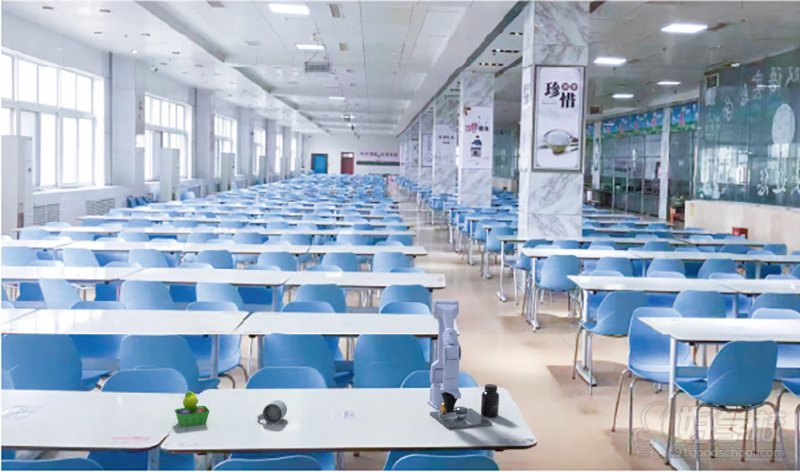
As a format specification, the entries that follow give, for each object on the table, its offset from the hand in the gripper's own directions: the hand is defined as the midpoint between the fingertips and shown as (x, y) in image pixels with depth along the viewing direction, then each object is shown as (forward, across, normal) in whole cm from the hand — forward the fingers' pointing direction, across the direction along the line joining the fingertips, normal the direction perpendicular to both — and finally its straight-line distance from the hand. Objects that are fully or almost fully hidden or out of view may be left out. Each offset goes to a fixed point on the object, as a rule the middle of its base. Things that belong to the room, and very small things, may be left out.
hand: (449, 412), depth 292 cm
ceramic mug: (+5, -22, -63) cm, 67 cm away
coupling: (+2, -4, +4) cm, 6 cm away
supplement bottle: (+5, -6, +20) cm, 22 cm away
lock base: (+5, -4, +7) cm, 10 cm away
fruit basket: (+5, -27, -91) cm, 95 cm away
